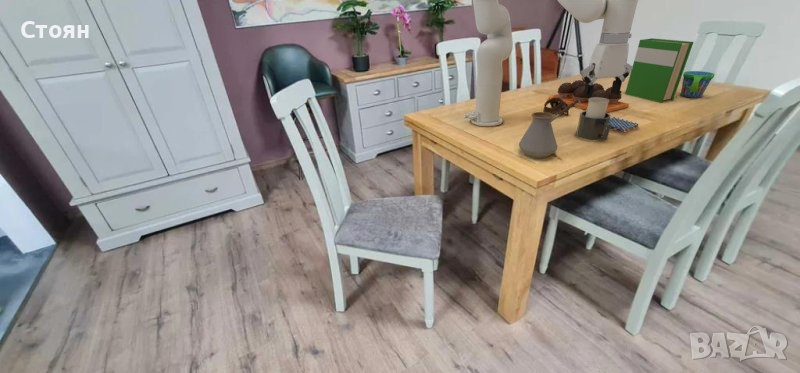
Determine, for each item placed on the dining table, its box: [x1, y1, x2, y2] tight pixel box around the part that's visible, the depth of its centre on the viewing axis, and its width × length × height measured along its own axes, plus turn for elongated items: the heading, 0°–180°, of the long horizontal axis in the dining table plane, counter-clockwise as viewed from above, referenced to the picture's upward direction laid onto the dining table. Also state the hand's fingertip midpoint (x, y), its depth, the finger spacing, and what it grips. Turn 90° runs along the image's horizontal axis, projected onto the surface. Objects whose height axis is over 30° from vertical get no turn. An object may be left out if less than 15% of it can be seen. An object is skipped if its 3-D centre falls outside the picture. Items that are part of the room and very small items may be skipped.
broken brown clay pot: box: [542, 97, 570, 116], centre depth 139 cm, size 12×10×8 cm
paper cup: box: [586, 97, 609, 118], centre depth 114 cm, size 6×6×12 cm
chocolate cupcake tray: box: [548, 79, 630, 113], centre depth 149 cm, size 28×17×8 cm, turn 25°
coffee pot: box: [518, 100, 581, 159], centre depth 106 cm, size 21×12×15 cm, turn 117°
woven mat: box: [609, 116, 640, 134], centre depth 123 cm, size 10×11×2 cm
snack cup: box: [680, 70, 716, 99], centre depth 149 cm, size 16×10×10 cm
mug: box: [575, 110, 612, 141], centre depth 114 cm, size 12×9×8 cm
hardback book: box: [624, 38, 694, 103], centre depth 148 cm, size 18×7×24 cm, turn 20°
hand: (601, 95), depth 110 cm, fingers open, 9 cm apart
